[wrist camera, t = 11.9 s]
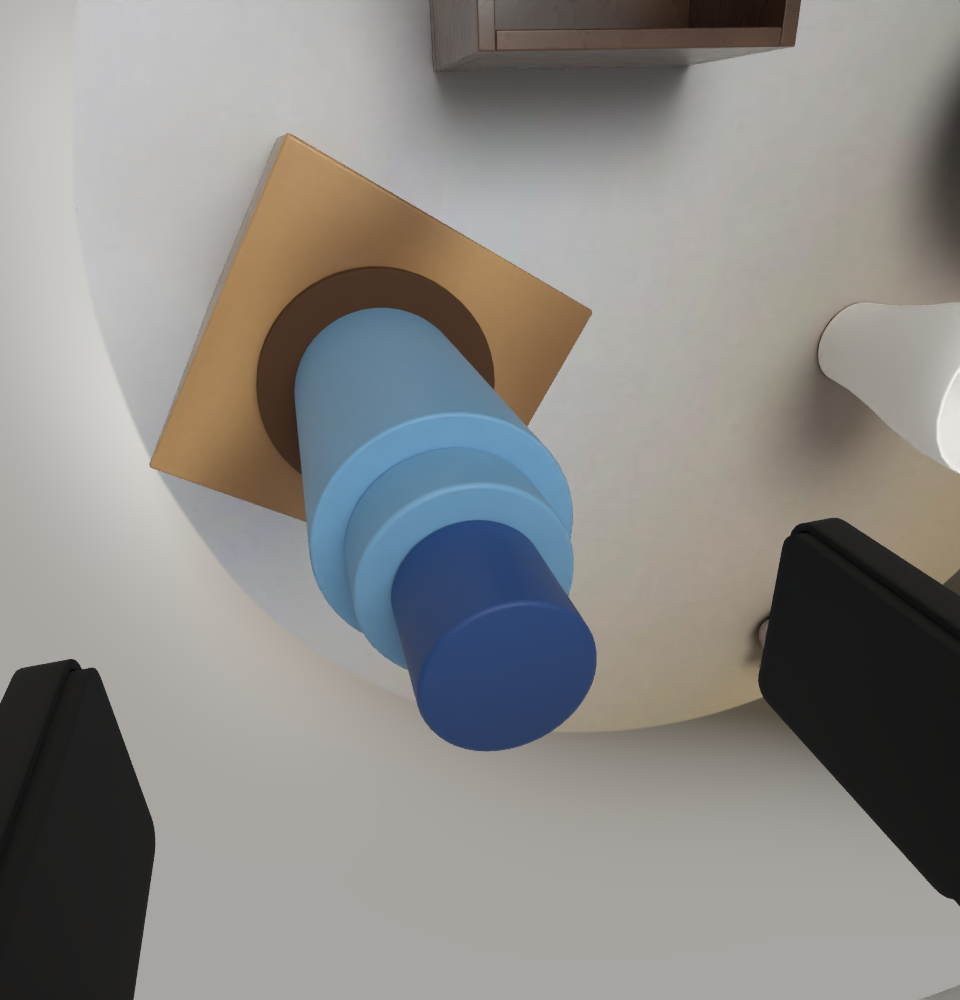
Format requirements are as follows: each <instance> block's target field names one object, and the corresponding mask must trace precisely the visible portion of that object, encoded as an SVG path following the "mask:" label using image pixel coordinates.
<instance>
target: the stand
mask: <svg viewBox="0 0 960 1000" xmlns="http://www.w3.org/2000/svg"><path fill="white" fill-rule="evenodd" d="M368 266H382V267H392V268H398V269H404V270H407V271H410V272H414V273H417V274H420V275H422V276H424V277H426V278H428V279H430V280H433V281H434V282H436V283H437V284H439V285H441V286H442V287H444V288H445V289H447V290H448V291H449V292H450V293H451V294H453V295H454V296H455V297H456V298H457V299H458V300H460V301H461V302H462V303H463V304H464V306H465V307H466V308H467V309H468V310H469V311H470V312H471V314H472V315H473V316H474V318H475V319H476V321H477V322H478V324H479V325H480V327H481V329H482V331H483V333H484V335H485V337H486V339H487V342H488V345H489V348H490V351H491V355H492V360H493V365H494V377H495V387H494V391H495V392H496V393H497V394H498V395H499V396H500V397H501V398H502V399H503V401H504V402H505V403H506V404H507V405H508V406H509V407H510V408H511V409H512V411H513V412H514V413H515V414H516V415H517V416H518V417H519V418H520V419H521V421H522V422H523V423H524V424H525V425H526V426H528V424H529V422H530V420H531V419H532V417H533V415H534V414H535V412H536V410H537V408H538V407H539V405H540V403H541V401H542V400H543V398H544V396H545V394H546V393H547V391H548V389H549V387H550V386H551V384H552V382H553V381H554V379H555V377H556V375H557V374H558V372H559V370H560V368H561V367H562V365H563V363H564V361H565V360H566V358H567V356H568V354H569V353H570V351H571V349H572V348H573V346H574V344H575V342H576V341H577V339H578V337H579V335H580V334H581V332H582V330H583V328H584V327H585V325H586V323H587V321H588V320H589V318H590V316H591V314H592V311H591V309H589V308H587V307H585V306H584V305H582V304H580V303H579V302H577V301H575V300H573V299H572V298H570V297H568V296H567V295H565V294H563V293H562V292H560V291H558V290H556V289H555V288H553V287H551V286H550V285H548V284H546V283H544V282H543V281H541V280H539V279H538V278H536V277H534V276H533V275H531V274H529V273H527V272H526V271H524V270H522V269H521V268H519V267H517V266H515V265H514V264H512V263H510V262H509V261H507V260H505V259H503V258H502V257H500V256H498V255H497V254H495V253H493V252H492V251H490V250H488V249H486V248H485V247H483V246H481V245H480V244H478V243H476V242H474V241H473V240H471V239H469V238H468V237H466V236H464V235H463V234H461V233H459V232H457V231H456V230H454V229H452V228H451V227H449V226H447V225H445V224H444V223H442V222H440V221H439V220H437V219H435V218H434V217H432V216H430V215H428V214H427V213H425V212H423V211H422V210H420V209H418V208H416V207H415V206H413V205H411V204H410V203H408V202H406V201H405V200H403V199H401V198H399V197H398V196H396V195H394V194H393V193H391V192H389V191H387V190H386V189H384V188H382V187H381V186H379V185H377V184H375V183H374V182H372V181H370V180H369V179H367V178H365V177H364V176H362V175H360V174H358V173H357V172H355V171H353V170H352V169H350V168H348V167H346V166H345V165H343V164H341V163H340V162H338V161H336V160H335V159H333V158H331V157H329V156H328V155H326V154H324V153H323V152H321V151H319V150H317V149H316V148H314V147H312V146H311V145H309V144H307V143H306V142H304V141H302V140H300V139H299V138H297V137H295V136H294V135H292V134H289V133H287V134H285V135H283V136H281V137H279V138H277V140H276V142H275V145H274V147H273V150H272V152H271V155H270V157H269V159H268V162H267V164H266V167H265V169H264V172H263V174H262V176H261V179H260V181H259V184H258V186H257V189H256V191H255V194H254V196H253V198H252V201H251V203H250V206H249V208H248V211H247V213H246V215H245V218H244V220H243V223H242V225H241V228H240V230H239V233H238V235H237V237H236V240H235V242H234V245H233V247H232V250H231V252H230V254H229V257H228V259H227V262H226V264H225V267H224V269H223V272H222V274H221V276H220V279H219V281H218V284H217V286H216V289H215V291H214V293H213V296H212V298H211V301H210V303H209V306H208V309H207V311H206V314H205V317H204V319H203V322H202V325H201V327H200V330H199V333H198V335H197V338H196V341H195V343H194V346H193V349H192V351H191V354H190V357H189V359H188V362H187V365H186V368H185V370H184V373H183V376H182V378H181V381H180V384H179V386H178V389H177V392H176V394H175V397H174V400H173V402H172V405H171V408H170V410H169V413H168V416H167V418H166V421H165V424H164V426H163V429H162V432H161V435H160V437H159V440H158V443H157V445H156V448H155V451H154V453H153V456H152V459H151V461H150V467H151V468H153V469H156V470H159V471H162V472H165V473H168V474H171V475H173V476H176V477H179V478H182V479H185V480H188V481H191V482H193V483H196V484H199V485H202V486H205V487H208V488H211V489H213V490H216V491H219V492H222V493H225V494H228V495H231V496H233V497H236V498H239V499H242V500H245V501H248V502H251V503H253V504H256V505H259V506H262V507H265V508H268V509H271V510H273V511H276V512H279V513H282V514H285V515H288V516H291V517H293V518H296V519H299V520H302V521H305V522H307V521H306V511H305V500H304V490H303V480H302V475H301V474H300V473H299V472H297V471H296V470H295V469H294V468H292V467H291V465H290V464H289V463H288V462H287V461H286V460H285V459H284V458H283V457H282V456H281V454H280V453H279V452H278V450H277V449H276V448H275V446H274V445H273V443H272V441H271V439H270V438H269V436H268V434H267V432H266V430H265V427H264V424H263V422H262V419H261V416H260V411H259V407H258V402H257V390H256V381H257V366H258V362H259V357H260V352H261V349H262V346H263V343H264V341H265V338H266V336H267V334H268V332H269V330H270V328H271V326H272V324H273V322H274V321H275V319H276V318H277V317H278V315H279V314H280V313H281V311H282V310H283V309H284V308H285V307H286V305H287V304H288V303H289V302H290V301H291V300H292V299H293V298H294V297H295V296H297V295H298V294H299V293H300V292H302V291H303V290H304V289H306V288H307V287H308V286H310V285H312V284H314V283H315V282H317V281H319V280H320V279H322V278H325V277H327V276H330V275H332V274H334V273H337V272H340V271H344V270H348V269H352V268H359V267H368Z"/></svg>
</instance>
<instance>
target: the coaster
mask: <svg viewBox="0 0 960 1000" xmlns="http://www.w3.org/2000/svg"><path fill="white" fill-rule="evenodd" d="M371 308H392V309H399V310H403V311H406V312H410V313H412V314H415V315H417V316H419V317H422V318H423V319H425V320H426V321H428V322H430V323H431V324H433V325H434V326H435V327H436V328H437V329H439V330H440V331H441V332H442V333H443V334H444V335H445V337H446V338H447V339H448V340H449V341H450V342H451V343H452V344H453V345H454V346H455V348H456V349H457V350H458V351H459V352H460V353H461V354H462V355H463V356H464V357H465V359H466V360H467V361H468V362H469V363H470V364H471V365H472V366H473V367H474V369H475V370H476V371H477V372H478V373H479V374H480V375H481V376H482V377H483V378H484V380H485V381H486V382H487V383H488V384H489V385H490V386H491V387H492V388H493V390H494V387H495V377H494V365H493V360H492V355H491V351H490V348H489V345H488V342H487V339H486V337H485V335H484V333H483V331H482V329H481V327H480V325H479V324H478V322H477V321H476V319H475V318H474V316H473V315H472V314H471V312H470V311H469V310H468V309H467V308H466V307H465V306H464V304H463V303H462V302H461V301H460V300H458V299H457V298H456V297H455V296H454V295H453V294H451V293H450V292H449V291H448V290H447V289H445V288H444V287H442V286H441V285H439V284H437V283H436V282H434V281H433V280H430V279H428V278H426V277H424V276H422V275H420V274H417V273H414V272H410V271H407V270H404V269H398V268H392V267H382V266H368V267H359V268H352V269H348V270H344V271H340V272H337V273H334V274H332V275H330V276H327V277H325V278H322V279H320V280H319V281H317V282H315V283H314V284H312V285H310V286H308V287H307V288H306V289H304V290H303V291H302V292H300V293H299V294H298V295H297V296H295V297H294V298H293V299H292V300H291V301H290V302H289V303H288V304H287V305H286V307H285V308H284V309H283V310H282V311H281V313H280V314H279V315H278V317H277V318H276V319H275V321H274V322H273V324H272V326H271V328H270V330H269V332H268V334H267V336H266V338H265V341H264V343H263V346H262V349H261V352H260V357H259V362H258V366H257V381H256V390H257V402H258V407H259V411H260V416H261V419H262V422H263V424H264V427H265V430H266V432H267V434H268V436H269V438H270V439H271V441H272V443H273V445H274V446H275V448H276V449H277V450H278V452H279V453H280V454H281V456H282V457H283V458H284V459H285V460H286V461H287V462H288V463H289V464H290V465H291V467H292V468H294V469H295V470H296V471H297V472H299V473H300V474H301V475H302V470H301V459H300V449H299V439H298V428H297V418H296V408H295V395H294V388H295V378H296V374H297V369H298V366H299V364H300V361H301V359H302V357H303V355H304V353H305V351H306V349H307V347H308V346H309V345H310V343H311V342H312V341H313V339H314V338H315V337H316V336H317V335H318V334H319V333H320V332H321V331H322V330H323V329H324V328H326V327H327V326H328V325H330V324H331V323H332V322H334V321H336V320H338V319H339V318H341V317H343V316H345V315H348V314H350V313H353V312H356V311H360V310H364V309H371Z"/></svg>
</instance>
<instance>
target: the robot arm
mask: <svg viewBox="0 0 960 1000" xmlns="http://www.w3.org/2000/svg"><path fill="white" fill-rule="evenodd" d="M758 682H759V687H760V691H761V693H762V695H763V697H764V699H765V700H766V702H767V703H768V704H769V705H770V706H771V707H772V709H773V710H774V711H776V713H777V714H778V715H779V716H780V717H781V718H782V720H783V721H784V722H785V723H786V724H787V725H788V726H789V727H790V729H792V731H793V732H794V733H795V734H796V735H797V736H798V737H799V739H800V740H801V741H802V742H803V743H804V744H805V745H806V746H807V747H808V748H809V750H810V751H811V752H812V753H813V754H814V755H815V756H816V757H817V759H818V760H819V761H820V762H821V763H822V764H823V765H824V766H825V767H826V768H827V770H828V771H829V772H830V773H831V774H832V775H833V776H834V777H835V778H836V780H837V781H838V782H839V783H840V784H841V785H842V786H843V787H844V788H845V790H846V791H847V792H848V793H849V794H850V795H851V796H852V797H853V798H854V800H855V801H856V802H857V803H858V804H859V805H860V806H861V807H862V809H864V811H865V812H866V813H867V814H868V815H869V816H870V817H871V819H872V820H873V821H874V822H875V823H876V824H877V825H878V826H879V827H880V829H882V831H883V832H884V833H885V834H886V835H887V836H888V837H889V839H890V840H891V841H892V842H893V843H894V844H895V845H896V846H897V847H898V848H899V850H900V851H901V852H902V853H903V854H904V855H905V856H906V857H907V859H908V860H909V861H910V862H911V863H912V864H913V865H914V866H915V867H916V868H917V870H918V871H919V872H920V873H921V874H922V875H923V876H924V877H925V879H926V880H927V881H928V882H929V883H930V884H931V885H932V886H933V887H934V888H935V889H936V890H937V891H938V892H939V893H940V894H942V895H943V896H945V897H947V898H950V899H954V900H955V901H956V902H957V903H958V905H959V906H960V596H959V595H957V594H956V593H954V592H953V591H951V590H950V589H948V588H946V587H945V586H943V585H942V584H940V583H939V582H937V581H936V580H934V579H933V578H931V577H930V576H928V575H927V574H925V573H924V572H922V571H920V570H919V569H917V568H916V567H914V566H913V565H911V564H910V563H908V562H907V561H905V560H904V559H902V558H901V557H899V556H898V555H896V554H894V553H893V552H891V551H890V550H888V549H887V548H885V547H884V546H882V545H881V544H879V543H878V542H876V541H875V540H873V539H872V538H870V537H869V536H867V535H865V534H864V533H862V532H861V531H859V530H858V529H856V528H855V527H853V526H852V525H850V524H849V523H847V522H846V521H844V520H841V519H839V518H829V519H823V520H818V521H813V522H807V523H802V524H799V525H797V526H796V527H795V528H794V529H793V530H792V532H791V535H790V536H789V537H787V538H786V540H785V541H784V544H783V547H782V552H781V558H780V563H779V568H778V574H777V579H776V585H775V590H774V595H773V601H772V606H771V611H770V617H769V622H768V628H767V633H766V638H765V644H764V649H763V654H762V660H761V665H760V671H759V677H758ZM154 855H155V832H154V825H153V821H152V818H151V815H150V812H149V809H148V807H147V804H146V801H145V798H144V796H143V793H142V790H141V787H140V785H139V782H138V779H137V776H136V774H135V771H134V768H133V765H132V763H131V760H130V757H129V754H128V751H127V749H126V746H125V743H124V740H123V738H122V735H121V732H120V729H119V727H118V724H117V721H116V718H115V716H114V713H113V710H112V707H111V705H110V702H109V699H108V696H107V694H106V691H105V688H104V685H103V683H102V680H101V677H100V675H99V673H98V671H97V670H96V669H95V668H88V669H81V667H80V665H79V663H78V662H77V661H76V660H73V659H69V660H63V661H58V662H52V663H47V664H42V665H36V666H31V667H26V668H21V669H19V670H17V671H16V672H15V674H14V675H13V677H12V679H11V681H10V683H9V686H8V688H7V690H6V692H5V695H4V697H3V699H2V701H1V703H0V1000H133V999H134V992H135V985H136V978H137V971H138V964H139V957H140V950H141V943H142V937H143V930H144V923H145V916H146V909H147V903H148V896H149V889H150V882H151V875H152V868H153V861H154ZM921 1000H960V985H959V986H956V987H954V988H951V989H948V990H945V991H943V992H940V993H937V994H935V995H932V996H929V997H926V998H923V999H921Z"/></svg>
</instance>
